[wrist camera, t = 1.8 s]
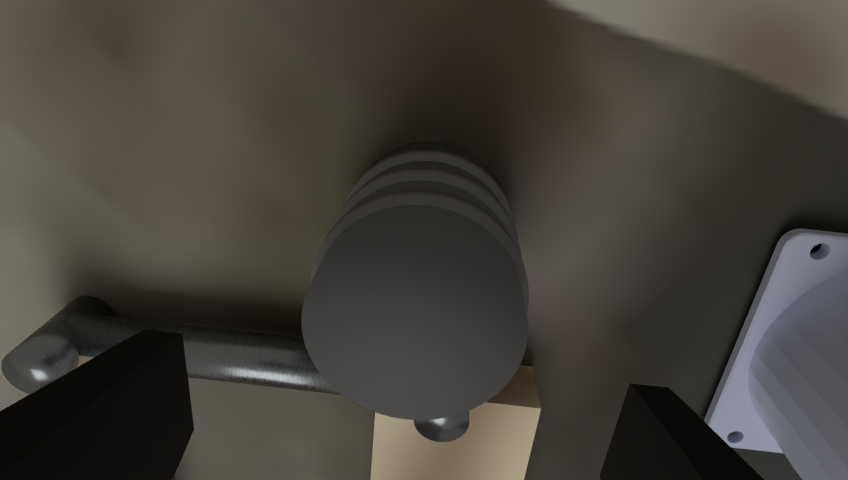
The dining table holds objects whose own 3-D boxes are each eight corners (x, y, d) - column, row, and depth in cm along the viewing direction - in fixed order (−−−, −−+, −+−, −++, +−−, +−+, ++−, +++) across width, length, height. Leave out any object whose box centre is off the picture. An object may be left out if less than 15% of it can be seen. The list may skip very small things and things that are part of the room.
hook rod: (471, 339, 18) (472, 402, 15) (464, 377, 19) (465, 444, 16) (65, 293, 18) (-5, 347, 15) (73, 333, 19) (8, 392, 16)
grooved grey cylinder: (523, 146, 15) (558, 238, 10) (497, 294, 17) (513, 437, 12) (352, 128, 15) (292, 208, 10) (346, 277, 17) (294, 411, 12)
